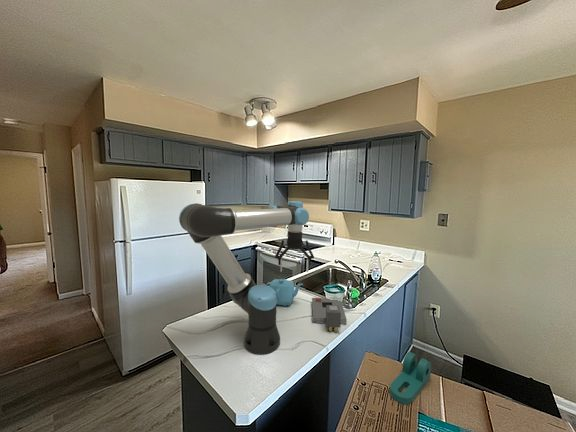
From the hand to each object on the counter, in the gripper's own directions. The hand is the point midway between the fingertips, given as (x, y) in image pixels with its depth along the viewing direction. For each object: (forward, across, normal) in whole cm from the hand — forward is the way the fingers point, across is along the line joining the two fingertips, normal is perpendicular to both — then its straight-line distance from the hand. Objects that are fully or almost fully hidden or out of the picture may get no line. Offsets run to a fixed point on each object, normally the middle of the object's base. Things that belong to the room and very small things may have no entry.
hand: (294, 271), depth 130 cm
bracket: (+23, -38, +50) cm, 66 cm away
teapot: (+22, +5, -10) cm, 25 cm away
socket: (+22, -18, +1) cm, 29 cm away
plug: (+22, -18, +16) cm, 33 cm away
